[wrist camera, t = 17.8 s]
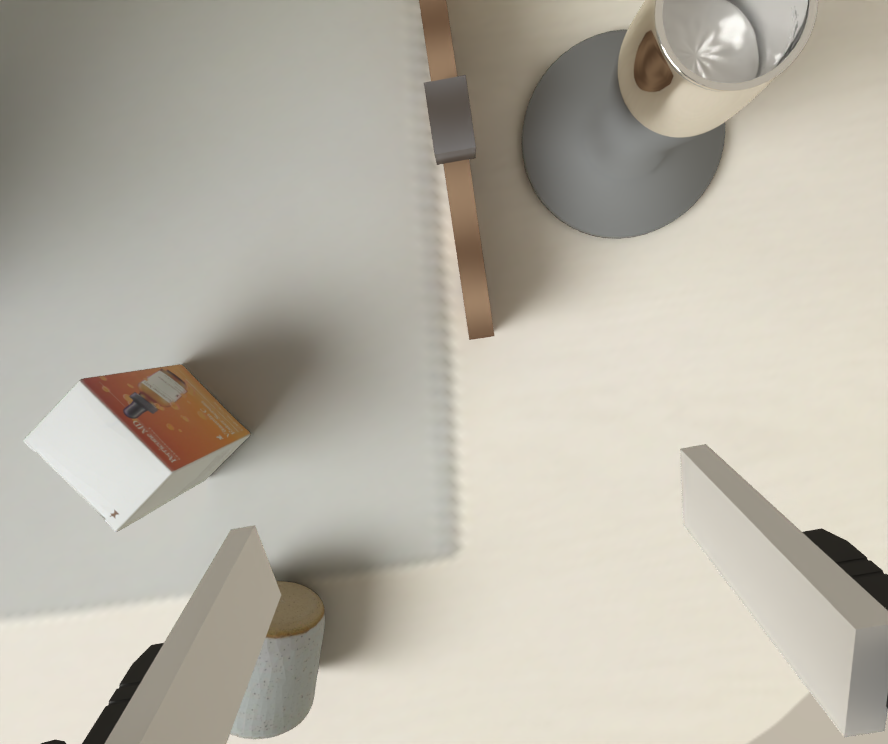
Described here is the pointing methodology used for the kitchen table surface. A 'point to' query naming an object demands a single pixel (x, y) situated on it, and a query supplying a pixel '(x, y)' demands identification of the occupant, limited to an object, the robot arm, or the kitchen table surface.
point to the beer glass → (689, 75)
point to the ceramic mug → (284, 667)
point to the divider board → (456, 161)
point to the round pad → (569, 170)
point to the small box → (136, 440)
